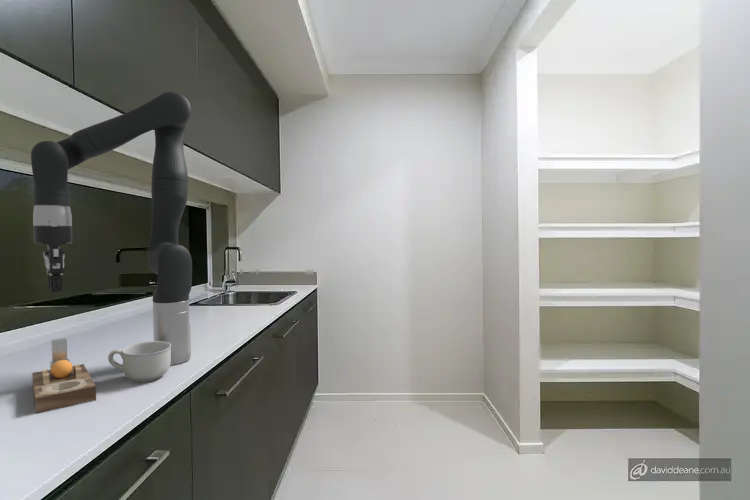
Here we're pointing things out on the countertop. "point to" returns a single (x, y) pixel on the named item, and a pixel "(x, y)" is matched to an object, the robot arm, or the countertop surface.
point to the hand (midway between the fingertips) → (55, 289)
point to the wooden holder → (62, 389)
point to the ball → (61, 369)
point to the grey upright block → (58, 351)
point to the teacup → (144, 360)
